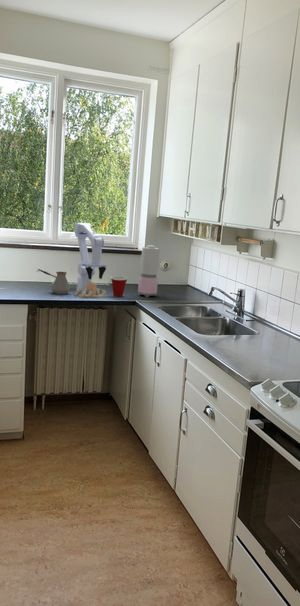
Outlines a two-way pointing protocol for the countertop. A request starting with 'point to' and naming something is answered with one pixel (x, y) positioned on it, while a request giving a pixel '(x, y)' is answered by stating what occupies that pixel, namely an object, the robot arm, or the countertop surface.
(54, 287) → the coffee pot
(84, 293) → the dish rack
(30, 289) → the countertop surface
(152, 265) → the blender
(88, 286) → the upright peach slab
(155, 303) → the countertop surface
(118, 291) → the plastic cup
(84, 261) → the robot arm
